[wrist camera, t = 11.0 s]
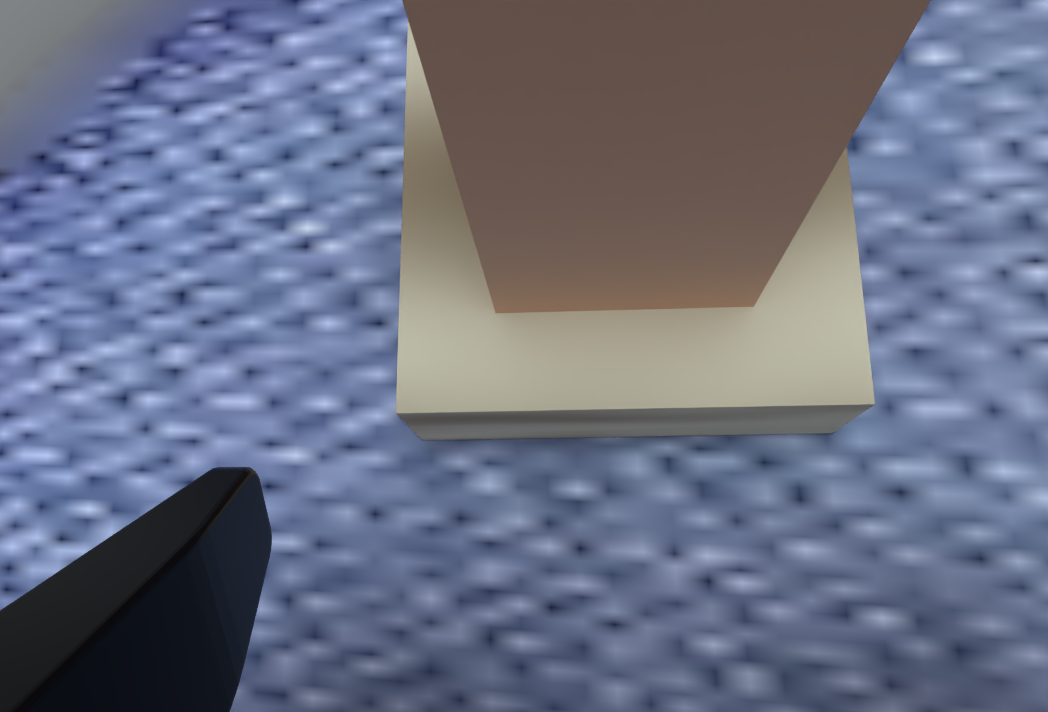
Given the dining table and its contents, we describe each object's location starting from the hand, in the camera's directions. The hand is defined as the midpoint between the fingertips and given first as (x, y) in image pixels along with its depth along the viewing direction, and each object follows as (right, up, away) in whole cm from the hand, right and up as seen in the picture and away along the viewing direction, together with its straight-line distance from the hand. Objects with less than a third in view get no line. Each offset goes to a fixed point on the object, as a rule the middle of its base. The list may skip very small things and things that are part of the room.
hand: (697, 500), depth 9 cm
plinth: (+1, +4, +12) cm, 13 cm away
